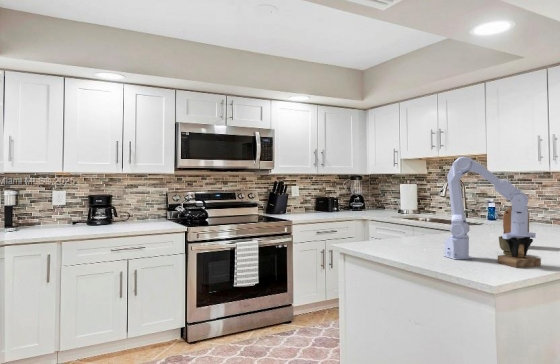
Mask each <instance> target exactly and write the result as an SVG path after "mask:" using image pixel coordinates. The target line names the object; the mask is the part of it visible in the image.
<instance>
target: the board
mask: <svg viewBox="0 0 560 364" xmlns="http://www.w3.org/2000/svg"><path fill="white" fill-rule="evenodd" d="M497 263H498V264H501V265H504V266H507V267H511V268H515V269H519V268H520V269H521V268H534V267H541V266H542V258H540V257H536V256H530V255H527V254H526V256H524V258H522V259H518V258H514V256H512V255H505V254H501V255H497Z"/></svg>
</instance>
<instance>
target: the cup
mask: <svg viewBox="0 0 560 364" xmlns="http://www.w3.org/2000/svg"><path fill="white" fill-rule="evenodd" d="M498 242H499V243H498V244H499V248H500V249H501V250H502V251H503V252H502V253H503V255H512V254H511V250H510V247H509V245H508V243H507V242H506V239H503V235H500V236H498Z"/></svg>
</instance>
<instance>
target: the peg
mask: <svg viewBox="0 0 560 364" xmlns="http://www.w3.org/2000/svg"><path fill="white" fill-rule="evenodd" d="M514 258H518V259H522V258H524V245H523V244H520V245H519V249H518V256H517V257H514Z"/></svg>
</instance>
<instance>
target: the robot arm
mask: <svg viewBox="0 0 560 364" xmlns="http://www.w3.org/2000/svg"><path fill="white" fill-rule="evenodd" d="M468 172H471V173H476V174H479V175H480V177H481V176H482V178H484V179H485V180H486V181H488V182H490V183H491V184H492V185H493V186H494V187H493V188H494V191H496V192H497V193H498V194H499V195H501V196H502V197H503V198H505V199H506V200H507V201H510V204H511V207H512V211H511V233H505V234H503V233H502V237H503V239H506V242H507V243H508V245H509V247H510V250H511V254H512V256H514V257H517V256H518V249H519V245H520V244H523V245H524V256H526V255H527V254H528V250H529V248H530V247H531V245H532V243H533V241H534V239H535V238H536V232H530V231H529V233H528V211H529V209H528V203H529V197H528V196H527V195H526V193H524V192H522V189H520V188H517V187H516V186H514V185H513V184H512V181H510V180H507V179H500V178H499V177H497V176H496V175H495V174H494V173H492V172H491V171H490V170H489V169H488V168H486V167H485V166H484V165H483V164H481V163H480V162H478V161H476V160H474V159H473V158H472V157H467V156H459V157H458V158H457V159H455V160H454V161H453V162H452V166H451V167H450V169H449V171H448V173H447V176H446V177H447V178H446V179H447V185H448V193H449V202H450V209H451V220H450V221H451V225H450V227H449V232H450V233H451V234H450V237H447V238H445V239H444V247H443V249H444V250H443V251H444V254H443V255H442V256H443V257H446V258H449V259H452V260H469V259H474V257H473V256H470V255H469V252H470V251H469V250H470V246H469V245H470V244H469V243H470V237H469V235H468V233H469V232H470V225H469V223H468V222H467V217H466V215H465V209H464V202H463V200H464V199H463V195H462V194H463V192H462V185H461V179H462V178H463V176H465V174H467V173H468ZM527 210H528V211H527ZM517 236H521V237H517ZM517 239H518V240H517Z"/></svg>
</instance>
